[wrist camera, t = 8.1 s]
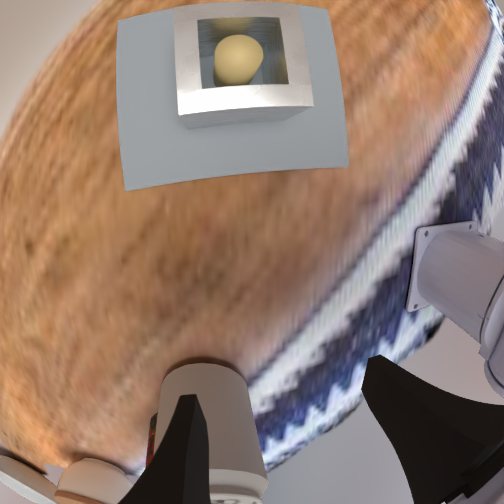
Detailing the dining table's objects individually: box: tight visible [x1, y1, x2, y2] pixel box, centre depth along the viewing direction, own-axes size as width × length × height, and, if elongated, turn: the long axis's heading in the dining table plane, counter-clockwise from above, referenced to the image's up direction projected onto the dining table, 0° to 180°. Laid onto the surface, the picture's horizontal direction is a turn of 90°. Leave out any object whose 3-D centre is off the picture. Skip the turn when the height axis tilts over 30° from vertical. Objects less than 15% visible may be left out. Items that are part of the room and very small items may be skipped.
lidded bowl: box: [54, 458, 133, 504], centre depth 21 cm, size 13×13×11 cm
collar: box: [174, 1, 314, 130], centre depth 11 cm, size 6×6×5 cm
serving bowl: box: [0, 455, 60, 504], centre depth 24 cm, size 21×21×7 cm
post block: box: [116, 5, 349, 191], centre depth 12 cm, size 14×12×5 cm
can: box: [154, 363, 269, 504], centre depth 16 cm, size 8×8×12 cm
